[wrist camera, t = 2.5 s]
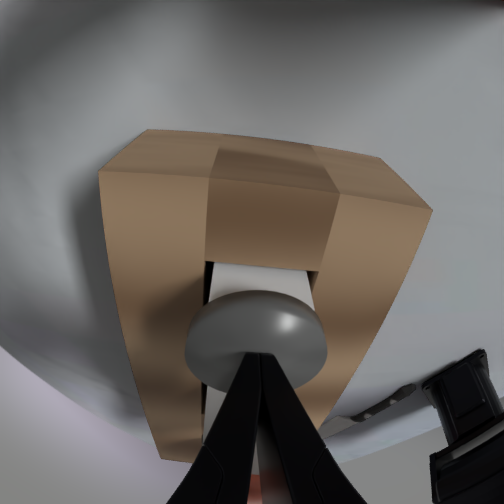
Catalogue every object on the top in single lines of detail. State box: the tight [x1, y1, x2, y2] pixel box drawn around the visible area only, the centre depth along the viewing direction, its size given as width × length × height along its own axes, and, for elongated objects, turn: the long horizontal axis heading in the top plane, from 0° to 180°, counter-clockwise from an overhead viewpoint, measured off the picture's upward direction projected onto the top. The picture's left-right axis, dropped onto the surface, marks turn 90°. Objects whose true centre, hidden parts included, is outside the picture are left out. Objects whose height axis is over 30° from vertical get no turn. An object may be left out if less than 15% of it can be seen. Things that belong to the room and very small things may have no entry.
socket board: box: [98, 130, 433, 463], centre depth 17 cm, size 22×10×5 cm, turn 173°
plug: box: [184, 262, 328, 393], centre depth 12 cm, size 4×4×7 cm
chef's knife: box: [317, 384, 416, 440], centre depth 27 cm, size 19×1×3 cm
